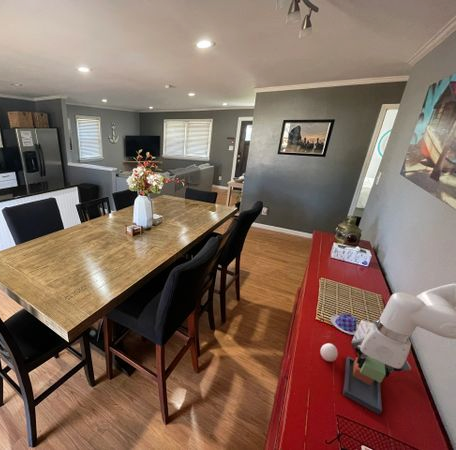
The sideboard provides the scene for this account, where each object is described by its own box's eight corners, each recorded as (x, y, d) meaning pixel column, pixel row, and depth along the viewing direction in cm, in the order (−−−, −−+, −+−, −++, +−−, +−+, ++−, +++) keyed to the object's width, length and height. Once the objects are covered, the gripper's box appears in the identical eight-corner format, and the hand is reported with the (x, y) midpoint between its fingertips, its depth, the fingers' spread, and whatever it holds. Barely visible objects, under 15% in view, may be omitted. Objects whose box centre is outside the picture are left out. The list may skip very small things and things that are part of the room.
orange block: (370, 372, 90) (374, 365, 88) (370, 385, 85) (374, 377, 84) (353, 364, 93) (356, 356, 91) (352, 376, 88) (356, 368, 87)
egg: (317, 351, 99) (322, 337, 96) (332, 356, 97) (338, 342, 94) (319, 362, 94) (325, 348, 91) (335, 367, 92) (342, 353, 89)
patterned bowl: (341, 314, 119) (344, 305, 117) (367, 332, 109) (372, 323, 107) (324, 319, 115) (327, 311, 113) (350, 339, 105) (354, 330, 103)
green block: (379, 368, 82) (384, 360, 80) (380, 383, 77) (385, 374, 75) (360, 359, 85) (364, 351, 83) (360, 373, 80) (364, 364, 78)
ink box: (372, 360, 95) (384, 338, 91) (357, 355, 97) (368, 334, 92) (365, 344, 103) (375, 323, 98) (351, 340, 104) (360, 319, 100)
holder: (377, 374, 90) (379, 371, 89) (379, 414, 77) (382, 410, 76) (345, 359, 95) (347, 356, 94) (343, 394, 82) (345, 390, 82)
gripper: (357, 323, 76) (339, 363, 83) (435, 354, 66) (406, 396, 73) (358, 310, 81) (340, 348, 88) (430, 337, 71) (403, 378, 78)
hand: (370, 370), depth 81 cm, fingers closed on green block, 5 cm apart
